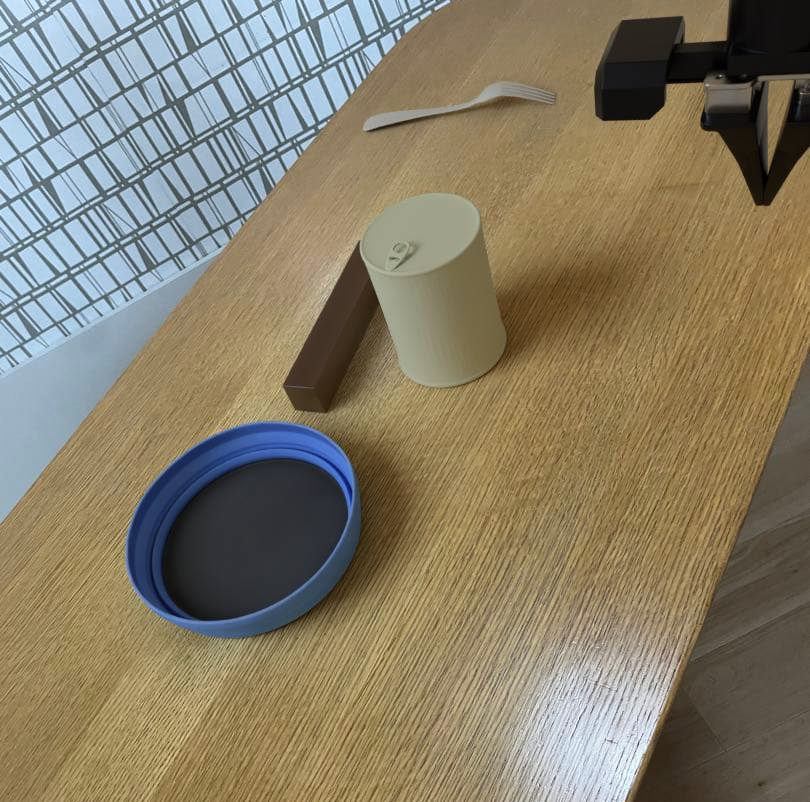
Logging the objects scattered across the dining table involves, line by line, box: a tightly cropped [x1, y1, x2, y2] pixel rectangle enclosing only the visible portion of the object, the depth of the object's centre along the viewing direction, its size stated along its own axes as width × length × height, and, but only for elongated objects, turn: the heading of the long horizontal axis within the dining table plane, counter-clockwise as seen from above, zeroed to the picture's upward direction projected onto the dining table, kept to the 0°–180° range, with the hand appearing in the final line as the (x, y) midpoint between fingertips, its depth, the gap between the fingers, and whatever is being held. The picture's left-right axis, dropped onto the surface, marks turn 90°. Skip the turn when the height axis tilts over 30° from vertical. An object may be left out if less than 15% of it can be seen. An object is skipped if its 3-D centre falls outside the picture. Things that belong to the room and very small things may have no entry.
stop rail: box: [282, 239, 380, 414], centre depth 73 cm, size 3×18×3 cm, turn 160°
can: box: [360, 192, 508, 389], centre depth 65 cm, size 9×9×12 cm
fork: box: [362, 80, 556, 132], centre depth 90 cm, size 3×21×3 cm, turn 79°
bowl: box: [124, 420, 362, 639], centre depth 62 cm, size 18×18×4 cm
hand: (763, 201), depth 51 cm, fingers closed
